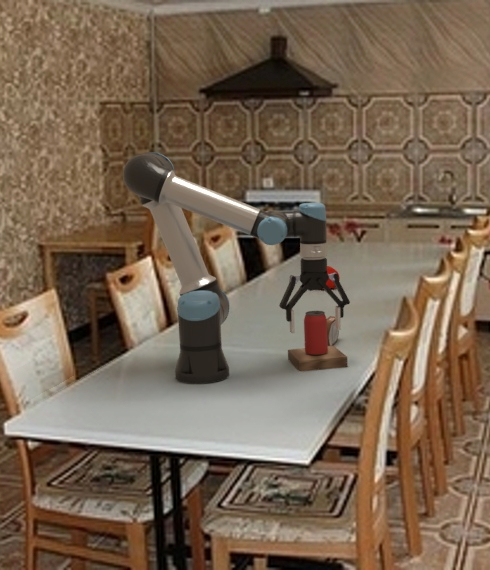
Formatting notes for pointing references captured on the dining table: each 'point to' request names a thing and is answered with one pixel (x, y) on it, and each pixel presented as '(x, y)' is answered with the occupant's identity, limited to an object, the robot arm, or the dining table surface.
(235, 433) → the dining table surface
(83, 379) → the dining table surface
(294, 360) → the podium
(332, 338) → the tin
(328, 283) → the tomato
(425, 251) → the dining table surface
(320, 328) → the beer can
